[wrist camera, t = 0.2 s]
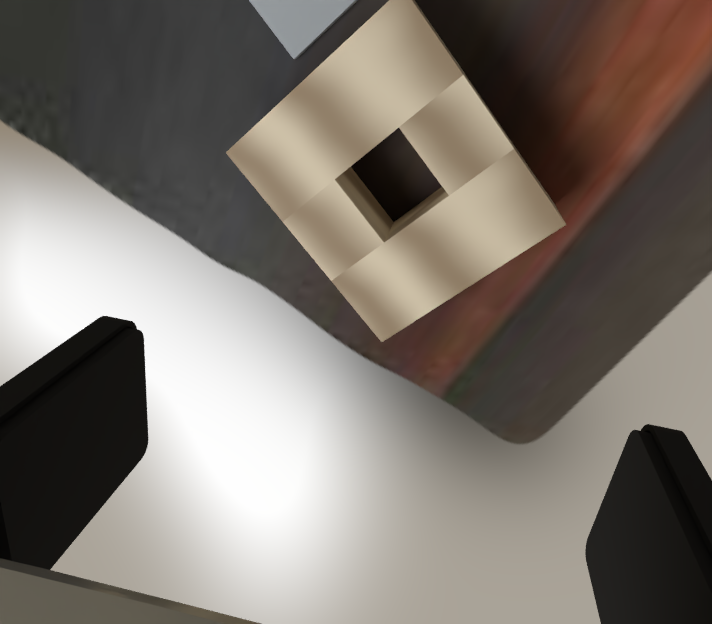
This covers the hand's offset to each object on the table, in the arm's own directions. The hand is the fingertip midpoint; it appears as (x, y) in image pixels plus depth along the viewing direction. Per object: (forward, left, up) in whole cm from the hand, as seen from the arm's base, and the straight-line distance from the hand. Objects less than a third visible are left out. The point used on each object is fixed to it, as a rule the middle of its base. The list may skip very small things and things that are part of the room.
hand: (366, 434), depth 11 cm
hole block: (+2, -1, -31) cm, 31 cm away
